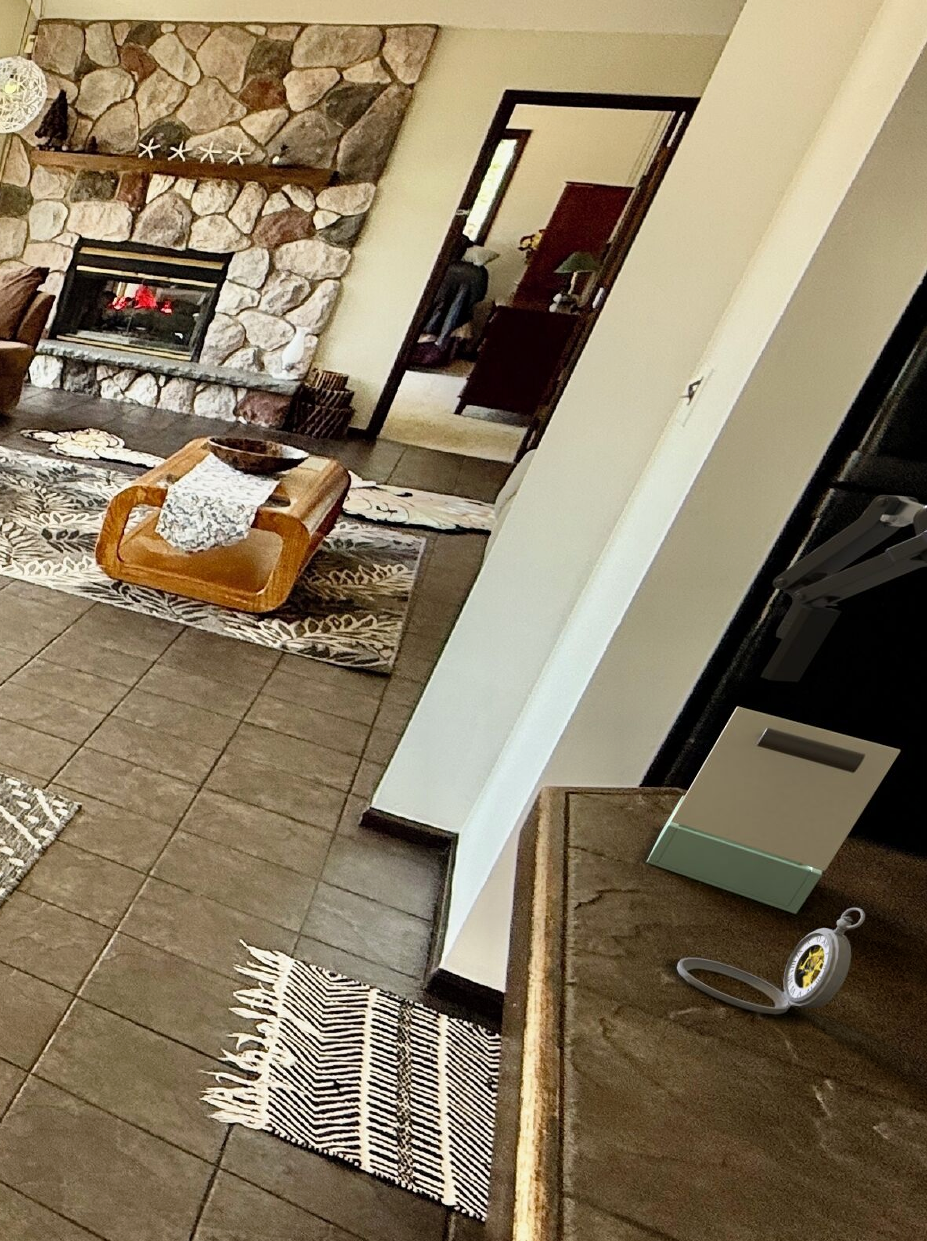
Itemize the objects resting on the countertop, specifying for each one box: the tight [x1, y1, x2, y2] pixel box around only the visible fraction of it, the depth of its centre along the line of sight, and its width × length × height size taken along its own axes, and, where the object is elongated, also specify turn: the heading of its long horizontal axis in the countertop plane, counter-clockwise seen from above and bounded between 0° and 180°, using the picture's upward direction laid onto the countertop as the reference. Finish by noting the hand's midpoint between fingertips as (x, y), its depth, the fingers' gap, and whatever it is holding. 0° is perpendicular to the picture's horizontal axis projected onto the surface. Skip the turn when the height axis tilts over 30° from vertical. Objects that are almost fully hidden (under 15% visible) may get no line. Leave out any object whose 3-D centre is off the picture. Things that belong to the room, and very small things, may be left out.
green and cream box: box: [646, 795, 823, 915], centre depth 116 cm, size 11×10×5 cm
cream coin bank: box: [671, 706, 901, 872], centre depth 107 cm, size 12×10×9 cm
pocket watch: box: [676, 907, 866, 1015], centre depth 95 cm, size 8×8×10 cm
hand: (871, 714), depth 94 cm, fingers open, 13 cm apart
